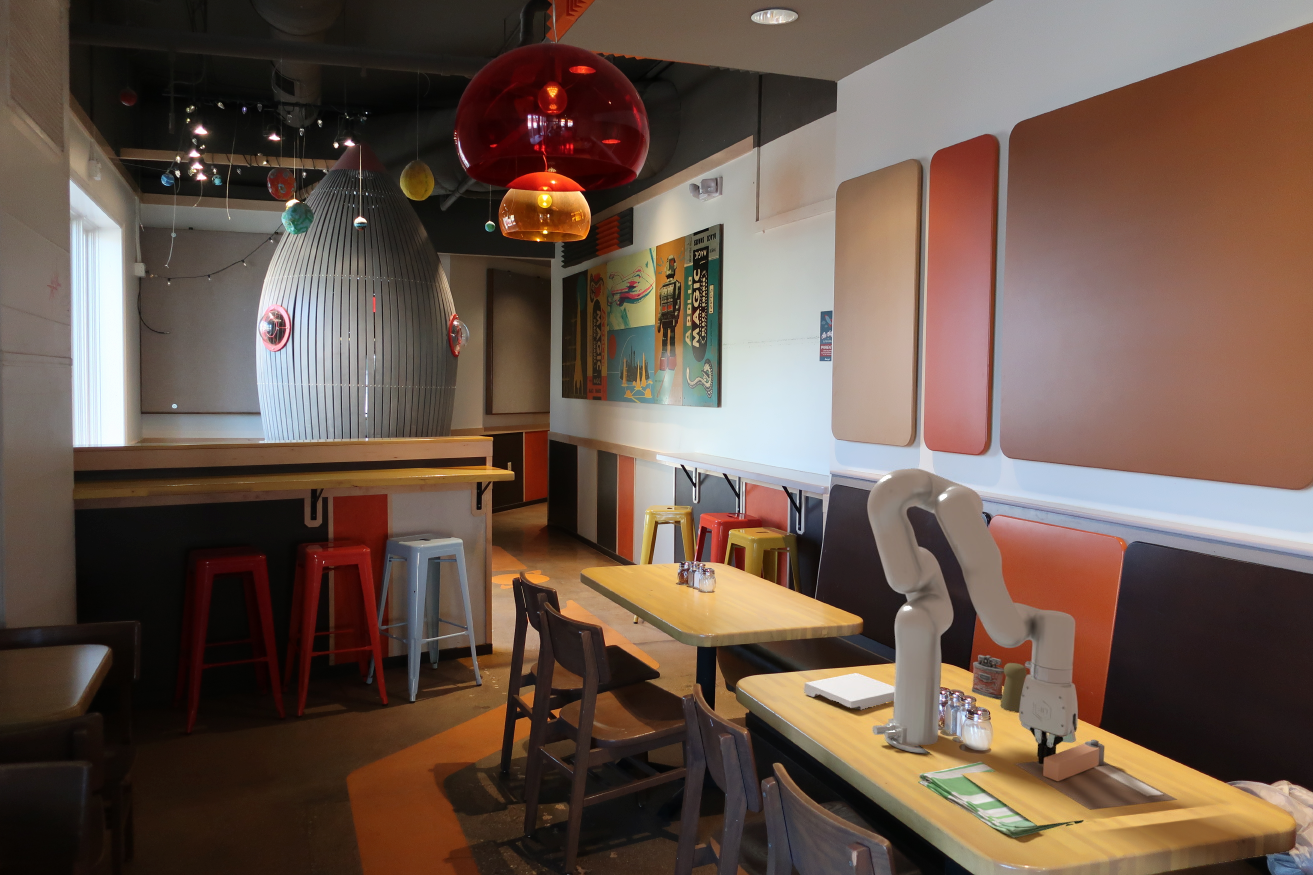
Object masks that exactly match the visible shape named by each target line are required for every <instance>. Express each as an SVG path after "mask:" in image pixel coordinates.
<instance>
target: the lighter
mask: <svg viewBox="0 0 1313 875" xmlns="http://www.w3.org/2000/svg"><path fill="white" fill-rule="evenodd" d="M977 657H978V658H977V660H978V661H974V662H973V664H972V666H973V672H972V673H973V676H972V687H971V692H972V693H974V694H978V695H980V696H983V697H986V698H990V699H994V700H1002V695H1003V679H1004V674H1005V673H1004V668H1002V667H999V666H1001V665H1002V660H1001V659H1000V658H999V659H998V658H995V657H992V656H991V655H986V656H985V655H982V654H979V655H978V656H977ZM997 665H998V666H997Z"/></svg>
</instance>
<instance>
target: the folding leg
mask: <svg viewBox="0 0 1313 875" xmlns="http://www.w3.org/2000/svg"><path fill="white" fill-rule="evenodd" d="M1104 761H1105V744H1102V743H1100V742H1099V740H1096V739H1091V740H1090V741H1088V740H1087V741H1085V742H1084V743H1082V744H1079V745H1076V746H1074V747H1070V748H1067V749H1065V750H1063V751H1059V752H1056V754H1054V755H1051V756H1048V757H1045V758H1044V768H1043V776H1046V777H1048V778H1051V779H1053V780H1056V781H1060V780H1063V779H1065V778H1068V777H1070V776H1073V775H1075V774H1078V773H1080V772H1083V771H1085V770H1088V769H1090V768H1093V767H1095V766H1098V765H1103V764H1104Z"/></svg>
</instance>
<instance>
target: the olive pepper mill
mask: <svg viewBox="0 0 1313 875" xmlns="http://www.w3.org/2000/svg"><path fill="white" fill-rule="evenodd" d="M1003 669H1004V673H1003V674H1004V676H1005V680H1004V685H1003V688H1002V699H1000V700H1001V701H1000V706H1001V707H1000V706H999V707H1000V708H1001V709H1003V710H1005V711H1007V710H1009V712H1011V711H1015V712H1014V713H1019V709H1020V701H1021V695H1022V690H1023V686H1024V682H1025V679H1026V676H1027V675H1028V674H1027V673H1028V672H1027V667H1025V665H1023V664H1020V663H1017V662H1014V663H1013V662H1008V663H1006V664H1005V665H1004V667H1003Z"/></svg>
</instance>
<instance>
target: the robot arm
mask: <svg viewBox="0 0 1313 875" xmlns="http://www.w3.org/2000/svg"><path fill="white" fill-rule="evenodd" d="M913 507H917V508H919V509H922V510H924V511H928V512H929V513H931V514H934V516H935V517H936V520H937V522H938V524H939V526H940V528H941V530H942V532H943V534H944V536H945V538H946V540H947V542H948V544H949V546H950V548H951V550H952V552H953V553H954V556H955V557H956V558H955V559H956V560H957V562H958V564H959V566H960V568H961V571H962V576H963V578H964V582H965V585H966V589H967V592H968V594H969V598H970V600H971V603H972V605H973V608H974V610H975V612H976V614H977V617H978V618H979V620H980V621H981V624H982V625H983V628H984V629H985V632H986V633H987V635H988V636H989V638H991V640H992V642H994V643H996V644H997V645H998V646H1000V647H1003V648H1007V649H1012V648H1017V647H1020V646H1021V645H1022V644H1023V643H1025V641H1031V643H1032V648H1031V660H1030V661H1029V660H1027V661H1026V662H1025V663H1024V667H1025V668H1026V669H1029V674H1027V675H1026V677H1025V678H1024V686H1023V690H1022V695H1021V701H1020V709H1019V712H1018V720H1019V721H1020V724H1021V726H1022V727H1023V728H1025V729H1027V730H1028V731H1030V733H1031V734H1032V735H1033V737H1034V740H1035V742H1036V743H1037V753H1036V754H1037V756H1036V757H1037V758H1038V763H1039V764H1043V765H1044V758H1045V757H1048V756H1051V755H1054V754H1056V753H1057V745H1059V744H1061V743H1069V744H1072V743H1075V742H1076V741H1077V737H1076V732H1077V729H1078V719H1079V718H1078V714H1079V713H1078V712H1079V711H1078V697H1077V696H1078V695H1077V690H1076V685H1075V683H1073V669H1074V668H1073V665H1074V652H1075V636H1076V634H1075V633H1076V620H1075V618H1074V617H1073V616H1072V615H1071V614H1070V613H1069V614H1068V613H1066V612H1063V611H1058V610H1052V609H1051V610H1049V609H1039V608H1037V607H1034V606H1030V605H1027V604H1025V603H1024V604H1023V603H1020V602H1014V601H1013V600H1012V597H1011V596H1010V592H1009V591H1008V589H1007V586H1006V583H1005V580H1004V576H1003V559H1002V554H1001V550H1000V548H999V546H998V545H997V543H996V541H995V539H994V537H993V535H992V533H991V531H990V529H989V527H988V526H987V524H986V522H985V520H984V518H983V516H982V514H983V512H984V504H983V499H982V498H981V496H980V494H978V492H976V490H973V489H972V488H970V487H968V486H966V485H963V484H962V483H961V484H960V483H958V482H955V481H952V480H950V479H947V478H945V477H942V476H939V475H937V474H935V473H932V472H930V471H927V470H924V469H922V468H915V467H914V468H904V469H903V468H902V469H901V468H900V469H896V470H893V471H891V472H887V473H886V474H884V476H882V477H881V478H879V480H878V481H877V482H876V483H875V484H874V486H873V488H871V490H870V492H869V495H868V499H867V508H866V509H867V515H868V521H869V524H870V526H871V529H872V533H873V536H874V539H875V540H874V541H875V544H876V547H877V550H878V554H879V557H880V561H881V565H882V569H883V572H884V575H885V579H886V582H887V583H888V585H889V586H890V588H891V589H892V590H893V591H895V592H897V593H898V594H902V595H905V597H906V600H907V601H906V602H905V603H904V604H903V605H902V606H901V607H900V608H899V609H898V612H897V613H896V616H895V619H894V620H895V621H894V636H895V637H894V639H895V640H894V641H895V676H894V687H895V691H894V701H893V711H892V712H893V714H892V715H893V717H892V718H888V723H887V722H886V723H885V724H884V725H882V724H878V725H873V726H872V733H873V735H874V736H878V735H883V736H884V740H885V741H886V742H887V744H889V745H891V746H893V747H895V748H896V749H899V750H903V751H906V752H909V753H916V754H931V752H930V751H929V750H927V749H926V748H924V747H923V746H926V745H927V746H928V745H932V744H933V745H934V744H936V743H937V742H938V739H939V723H940V722H939V719H940V704H941V702H940V700H941V683H942V682H941V679H942V649H941V636H942V635H943V634H944V633H945V632H946V631H947V630H948V629H949V628H950V627H951V626H952V623H953V620H954V609H953V608H954V607H953V605H952V600H951V597H950V594H949V591H948V588H947V585H946V582H945V579H944V575H943V573H942V569H941V566H940V564H939V561H938V560H937V558H936V556H935V555H934V554H933V553H932V552H931V551H929V550H928V549H927V548H925V547H922V546H919V544H918V541H917V538H916V536H915V535H916V534H915V531H914V528H913V525H912V524H911V521H910V519H909V517H908V514H907V511H908V509H910V508H913ZM922 745H923V746H922Z"/></svg>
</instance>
